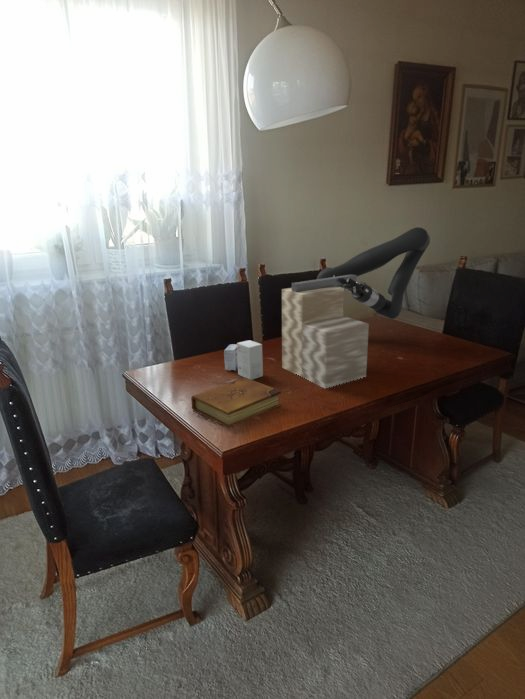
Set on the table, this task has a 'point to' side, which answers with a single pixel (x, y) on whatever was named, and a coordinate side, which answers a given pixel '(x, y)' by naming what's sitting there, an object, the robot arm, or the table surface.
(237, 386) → the diary
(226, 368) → the medicine box
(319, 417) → the table surface
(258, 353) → the small box
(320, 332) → the stand
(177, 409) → the table surface
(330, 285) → the bar
